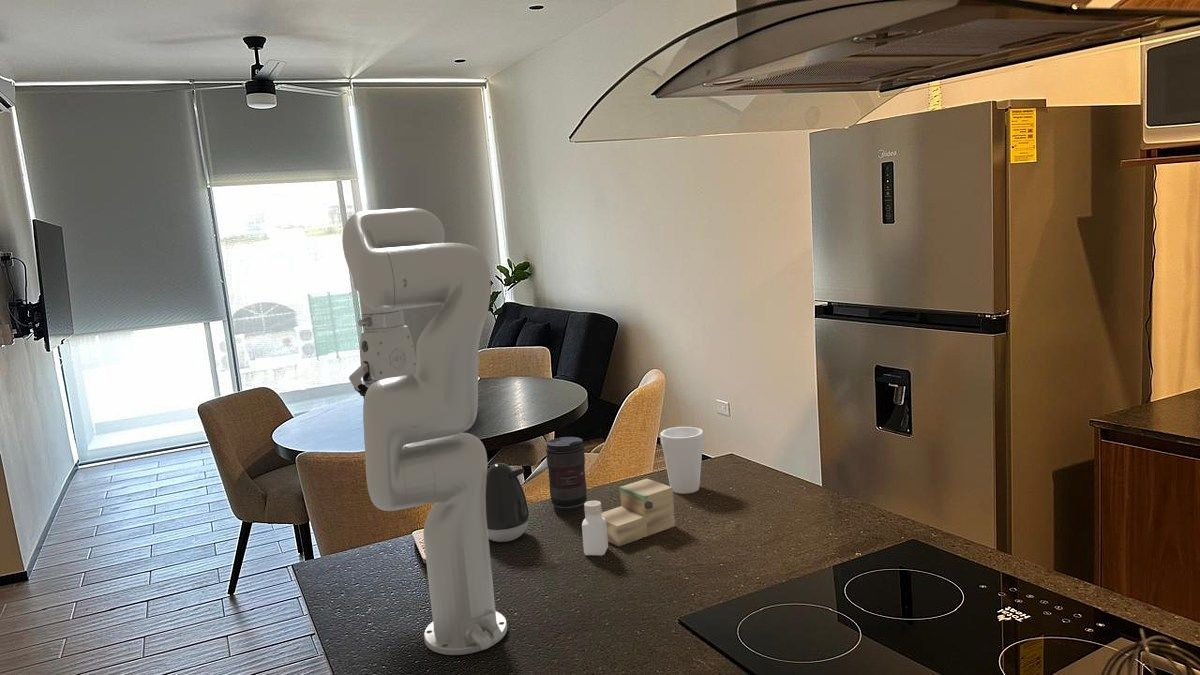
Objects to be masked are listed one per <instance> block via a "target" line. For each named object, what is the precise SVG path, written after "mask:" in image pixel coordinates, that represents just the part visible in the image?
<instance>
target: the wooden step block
mask: <svg viewBox="0 0 1200 675" xmlns="http://www.w3.org/2000/svg"><path fill="white" fill-rule="evenodd" d="M618 488H619V497H620V506H617V507H615V508H612V509H611V508H610V509H608V510H606V511H602V517H604V518H605V519H606V526H607V539H608V543H611V544H612V545H615V546H617V547H621V546H624V545H627V544H630V543H633V542H635V541H638V540H640V539H643V537H644V538H646V537H649V536H652V535H655V534H657V533H659V532H662V531H664V530H665V531H666V530H668V529H671V528H674V527H676V522H675V521H676V520H675V519H676V518H675V505H674V492H673V487H670V485H667V484H664V483H661V482H658V481H655V480H653V479H650V478H644V479H641V480H638V481H634V482H631V483H628V484H625V485H621V486H618Z"/></svg>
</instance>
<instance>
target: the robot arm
mask: <svg viewBox="0 0 1200 675" xmlns="http://www.w3.org/2000/svg"><path fill="white" fill-rule="evenodd" d="M445 234H446V233H445V229H444V226H443V223H442V221H441V220H440V219H439V218H438V217H437V216H436V215H435V214H434V213H432V212H431V211H428V210H426V209H423V208H419V207H418V208H416V207H404V208H391V209H374V210H373V209H372V210H363V211H357V212H354V213H353V214H352V215H351V216H349V218H347V220H346V222H345V224H344V227H343V230H342V237H341V238H342V249H343V254H344V255H343V256H344V258H345V261H346V264H347V266H348V267H347V268H348V269H349V272H350V274H351V277H352V282H353V285H354V289H355V291H357V292H358V296H359V305H360V314H361V316H360V317H361V319H358V321H357V324H358V326H359V327H362V331H361V332H360V340H359V341H360V342H359V345H360V346H359V359H360V360H359V361H360V366H359V367H358V368H356V370H355V371H354V372H352V373H351V374H350V375H349V377H348V379H349V381H350V382H351V385H352V386H353V388H354V390H355V391H356V392H357V393H359V395H360V396H361V397H363V405H362V406H363V409H362V410H363V411H362V412H363V413H362V418H363V420H362V421H363V422H362V424H363V442H364V454H365V456H364V457H365V458H364V459H365V460H364V461H365V475H366V477H365V478H366V485H367V486H366V487H367V491H368V495H369V498H370V501H371V502H372V504H373V505H374V506H375V507H376V508H377V509H379V510H381V511H385V512H393V511H400V510H405V509H409V508H415V507H419V506H423V505H428V504H433V505H432V506H431V508H430V510H429V511H428V514H427V516H426V519H425V522H424V525H423V544H424V553H425V561H426V571H427V580H428V587H429V588H428V589H429V597H430V598H429V599H430V600H429V601H430V606H431V615H432V616H431V617H432V622H430V623H429V624H428V625H427V627H425V628H426V629H425V630H424V632H423V638H424V640H423V641H424V644H425V646H426V647H427V648H428V649H429V650H430V651H432V652H434V653H438V654H440V655H441V654H442V655H445V656H446V655H447V656H463V655H464V656H465V655H470V654H473V653H478V652H481V651H484V650H487V649H489V648H491V647H492V646H495V645H496V644H497V643H499V642H500V641H501V640H502V639H503V638H504V637H505V635H506V634H507V631H508V623H507V619H506V617H505V616H504V615H503V614H502V613H501V612H499V611H497V610H496V602H495V592H494V583H493V582H494V581H493V571H492V562H491V552H490V551H491V550H490V541H489V540H490V539H489V538H488V528H487V516H486V480H487V470H488V454H487V450H486V448H485V445H484V443H483V441H481V439H480V438H479V437H478V436H476V435H474V434H471V433H468V432H466V431H468V430H469V429H470V428H472V426H474V424H475V422H476V420H477V415H478V408H479V349H480V340H481V337H482V332H483V329H484V326H485V323H486V319H487V316H488V312H489V307H490V303H491V302H490V301H491V289H492V287H491V286H492V285H491V284H492V283H491V274H490V273H491V272H490V267H489V264H488V260H487V258H486V256H485V255H484V253H483V252H482V251H481V250H480V249H479V248H478V247H476V246H474V245H470V244H468V243H467V244H466V243H461V242H445ZM437 305H439V306H440V305H442V306H441V308H440V309H439V310H438V311H437V312H435V314H434V316H433V317H432V318H430V320H429V321H428V323H427V324H426V326H425V327H424V328H423V330H422V332H421V333H420V335H419V336H418V339H417V343H416V347H415V344H414V341H413V337H412V334H411V331H410V329H409V326H408V325H405V319H404V310H406V309H414V308H423V307H431V306H437ZM362 381H363V382H364V383H363V382H362Z"/></svg>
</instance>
